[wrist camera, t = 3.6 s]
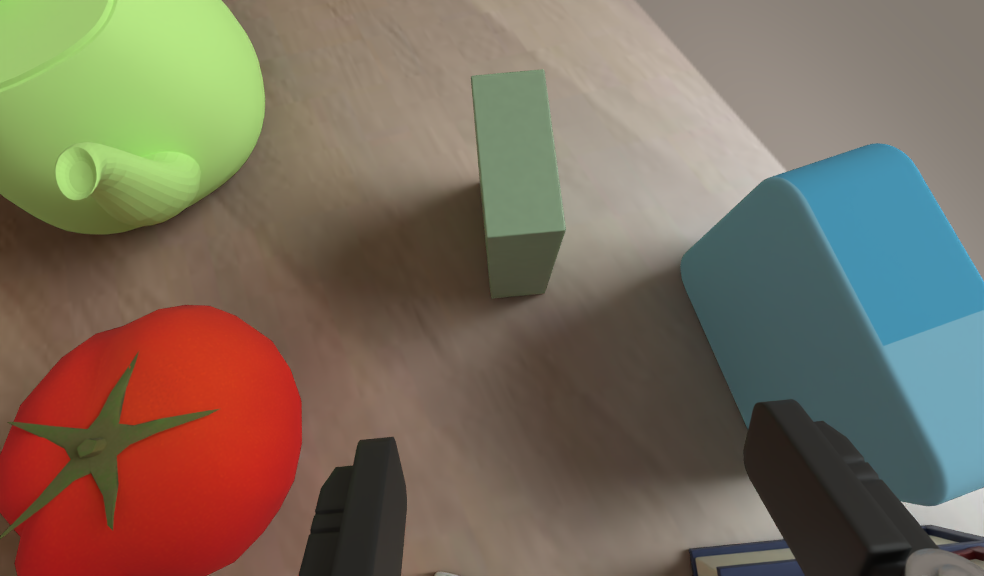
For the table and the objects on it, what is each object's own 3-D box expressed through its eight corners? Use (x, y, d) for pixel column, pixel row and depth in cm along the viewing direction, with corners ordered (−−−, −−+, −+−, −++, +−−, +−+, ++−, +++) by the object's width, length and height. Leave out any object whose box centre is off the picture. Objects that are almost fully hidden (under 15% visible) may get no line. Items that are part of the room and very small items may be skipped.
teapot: (364, 222, 31) (272, 83, 19) (123, 364, 29) (-163, 318, 17) (201, -41, 36) (38, -295, 23) (-16, 68, 34) (-322, -144, 21)
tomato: (68, 527, 27) (-176, 584, 18) (189, 298, 30) (38, 236, 20) (265, 616, 26) (124, 732, 16) (372, 370, 29) (306, 342, 19)
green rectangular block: (530, 176, 32) (543, 66, 22) (545, 293, 30) (566, 230, 20) (479, 180, 32) (470, 73, 22) (490, 298, 30) (486, 237, 20)
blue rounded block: (848, 448, 28) (1097, 464, 16) (767, 478, 28) (961, 516, 16) (746, 238, 31) (896, 123, 19) (672, 263, 30) (778, 162, 19)
